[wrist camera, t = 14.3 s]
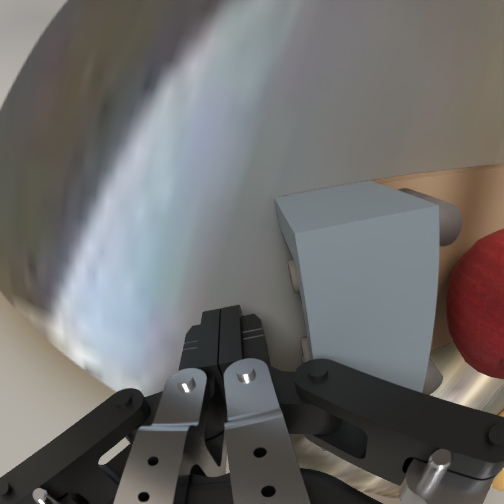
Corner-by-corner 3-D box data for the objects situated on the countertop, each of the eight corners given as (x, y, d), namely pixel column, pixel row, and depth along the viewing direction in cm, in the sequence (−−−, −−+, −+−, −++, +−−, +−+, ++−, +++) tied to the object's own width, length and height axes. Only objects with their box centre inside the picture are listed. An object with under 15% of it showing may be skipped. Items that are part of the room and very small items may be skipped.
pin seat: (509, 163, 11) (563, 175, 7) (498, 309, 14) (536, 342, 10) (274, 197, 12) (288, 222, 8) (304, 373, 15) (318, 432, 11)
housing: (369, 180, 12) (438, 205, 7) (377, 355, 15) (414, 423, 10) (274, 197, 12) (294, 233, 7) (304, 373, 15) (322, 450, 10)
